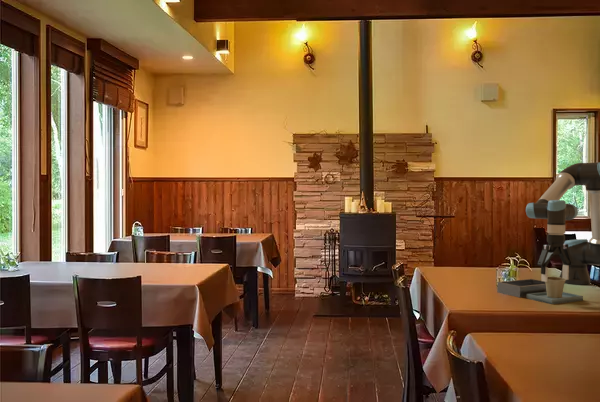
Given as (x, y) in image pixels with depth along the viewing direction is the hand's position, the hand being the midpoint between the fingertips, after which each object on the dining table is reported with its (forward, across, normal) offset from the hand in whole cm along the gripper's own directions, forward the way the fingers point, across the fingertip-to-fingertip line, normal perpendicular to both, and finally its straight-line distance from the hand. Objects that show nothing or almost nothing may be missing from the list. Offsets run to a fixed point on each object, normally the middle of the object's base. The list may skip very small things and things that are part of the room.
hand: (554, 280), depth 260 cm
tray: (+9, 0, 0) cm, 9 cm away
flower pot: (+8, 0, 0) cm, 8 cm away
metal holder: (+9, 0, -16) cm, 19 cm away
